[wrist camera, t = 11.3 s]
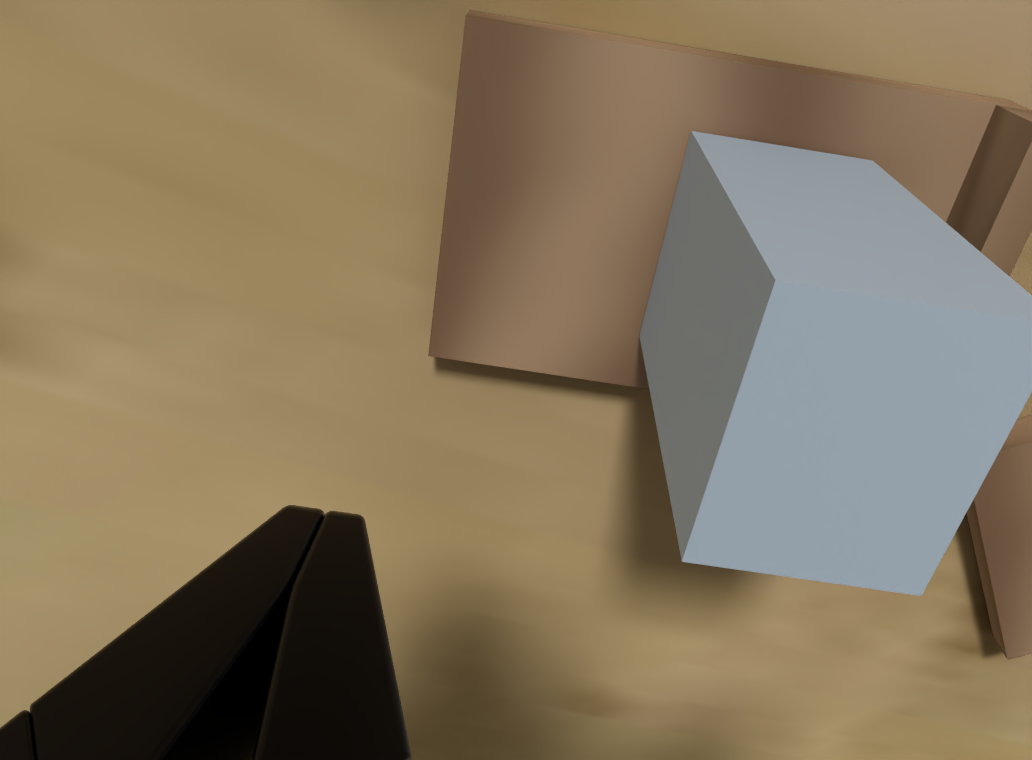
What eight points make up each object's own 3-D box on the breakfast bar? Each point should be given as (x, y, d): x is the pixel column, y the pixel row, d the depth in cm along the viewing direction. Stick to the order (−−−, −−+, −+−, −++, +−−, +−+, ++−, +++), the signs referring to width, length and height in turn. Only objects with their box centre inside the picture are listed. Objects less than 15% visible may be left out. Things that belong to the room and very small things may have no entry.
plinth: (433, 337, 22) (418, 393, 20) (470, 10, 18) (456, 28, 16) (877, 405, 22) (917, 467, 20) (1010, 100, 18) (1078, 132, 16)
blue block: (639, 335, 20) (681, 561, 14) (691, 130, 18) (776, 279, 11) (807, 361, 21) (933, 597, 14) (882, 162, 18) (1083, 328, 11)
